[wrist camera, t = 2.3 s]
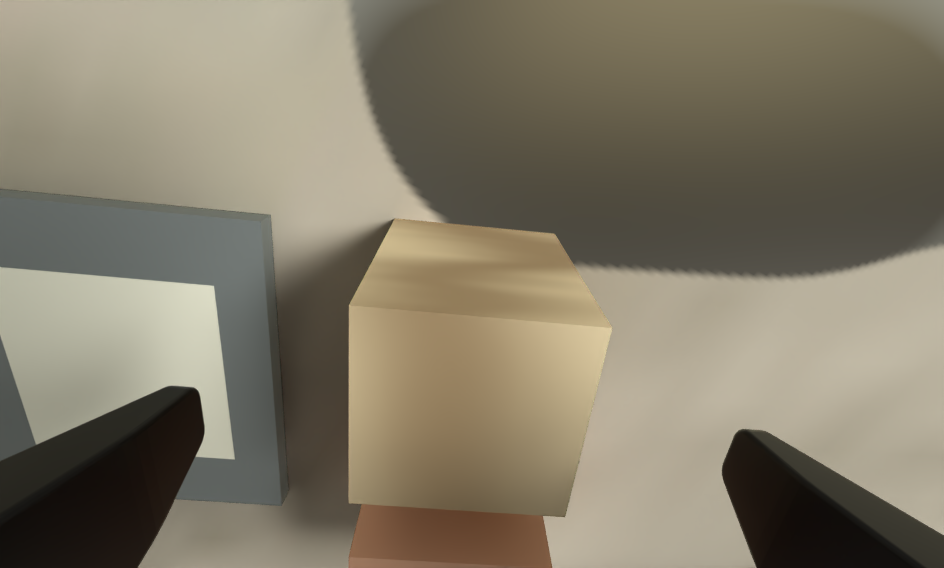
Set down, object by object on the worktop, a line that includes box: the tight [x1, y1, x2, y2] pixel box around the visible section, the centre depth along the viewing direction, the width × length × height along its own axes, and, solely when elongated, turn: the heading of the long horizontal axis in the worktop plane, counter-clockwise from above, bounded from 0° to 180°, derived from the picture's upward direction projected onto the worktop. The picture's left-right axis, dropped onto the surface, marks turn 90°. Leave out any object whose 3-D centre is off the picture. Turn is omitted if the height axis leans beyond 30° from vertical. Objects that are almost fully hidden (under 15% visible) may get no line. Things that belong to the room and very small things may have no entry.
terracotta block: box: [349, 504, 552, 568], centre depth 12 cm, size 4×4×5 cm
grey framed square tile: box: [0, 189, 289, 506], centre depth 13 cm, size 8×9×1 cm
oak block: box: [348, 219, 612, 517], centre depth 10 cm, size 4×4×5 cm
